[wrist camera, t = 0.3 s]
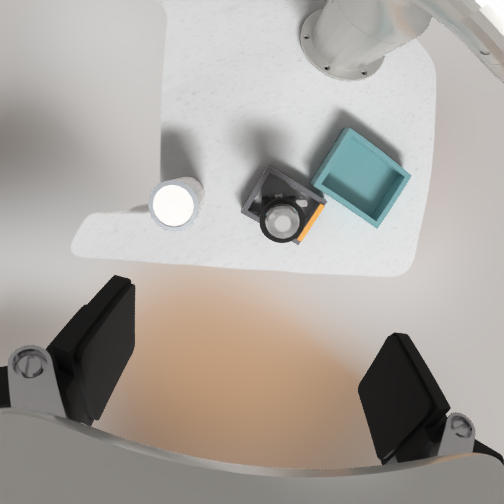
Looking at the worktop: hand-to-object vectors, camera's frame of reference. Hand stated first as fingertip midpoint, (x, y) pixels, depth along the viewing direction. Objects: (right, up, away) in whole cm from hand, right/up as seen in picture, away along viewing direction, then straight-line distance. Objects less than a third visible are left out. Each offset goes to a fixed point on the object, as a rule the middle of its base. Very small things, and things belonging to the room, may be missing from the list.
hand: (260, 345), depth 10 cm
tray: (+15, +14, +30) cm, 37 cm away
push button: (+4, +10, +33) cm, 34 cm away
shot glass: (-10, +12, +33) cm, 36 cm away
